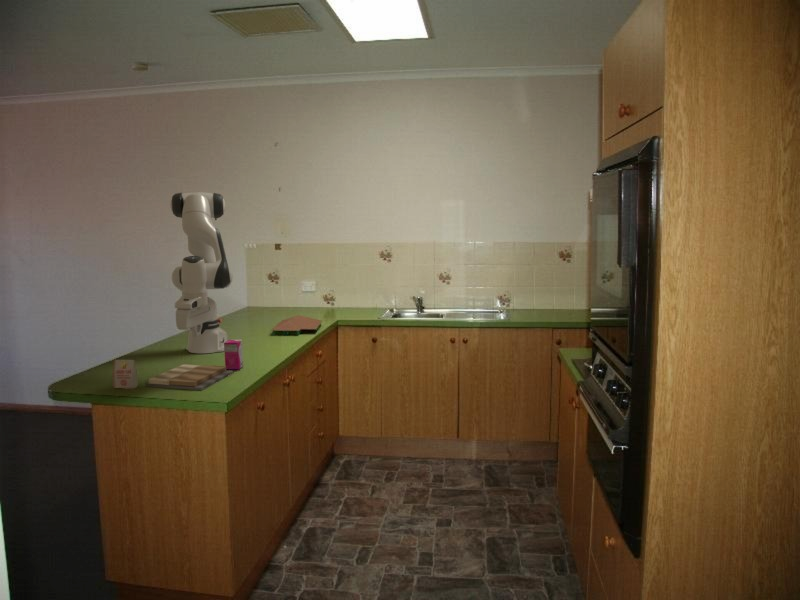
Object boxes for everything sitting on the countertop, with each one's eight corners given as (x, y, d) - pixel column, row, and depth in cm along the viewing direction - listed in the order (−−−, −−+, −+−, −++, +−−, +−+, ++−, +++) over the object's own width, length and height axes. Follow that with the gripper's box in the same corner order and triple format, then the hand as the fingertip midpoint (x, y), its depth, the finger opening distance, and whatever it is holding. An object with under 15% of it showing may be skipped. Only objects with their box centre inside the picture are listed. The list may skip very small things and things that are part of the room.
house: (323, 325, 324) (323, 311, 323) (315, 337, 291) (314, 321, 290) (283, 324, 324) (283, 310, 323) (270, 336, 291) (270, 321, 290)
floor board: (182, 369, 223) (182, 363, 223) (233, 373, 219) (233, 366, 219) (145, 386, 201) (145, 379, 201) (201, 390, 197) (201, 383, 196)
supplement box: (229, 366, 229) (228, 339, 227) (243, 367, 229) (243, 339, 227) (224, 370, 223) (223, 342, 222) (239, 370, 223) (238, 342, 222)
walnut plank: (202, 368, 221) (202, 365, 221) (226, 370, 219) (226, 366, 219) (169, 384, 200) (169, 380, 199) (195, 386, 198) (195, 382, 197)
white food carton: (118, 385, 202) (117, 358, 200) (137, 385, 202) (136, 358, 200) (113, 388, 198) (112, 361, 197) (133, 388, 198) (131, 361, 197)
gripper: (202, 295, 220) (203, 329, 223) (171, 304, 200) (173, 342, 203) (217, 296, 219) (218, 330, 222) (187, 305, 199) (189, 343, 202)
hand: (196, 336), depth 212 cm, fingers closed
